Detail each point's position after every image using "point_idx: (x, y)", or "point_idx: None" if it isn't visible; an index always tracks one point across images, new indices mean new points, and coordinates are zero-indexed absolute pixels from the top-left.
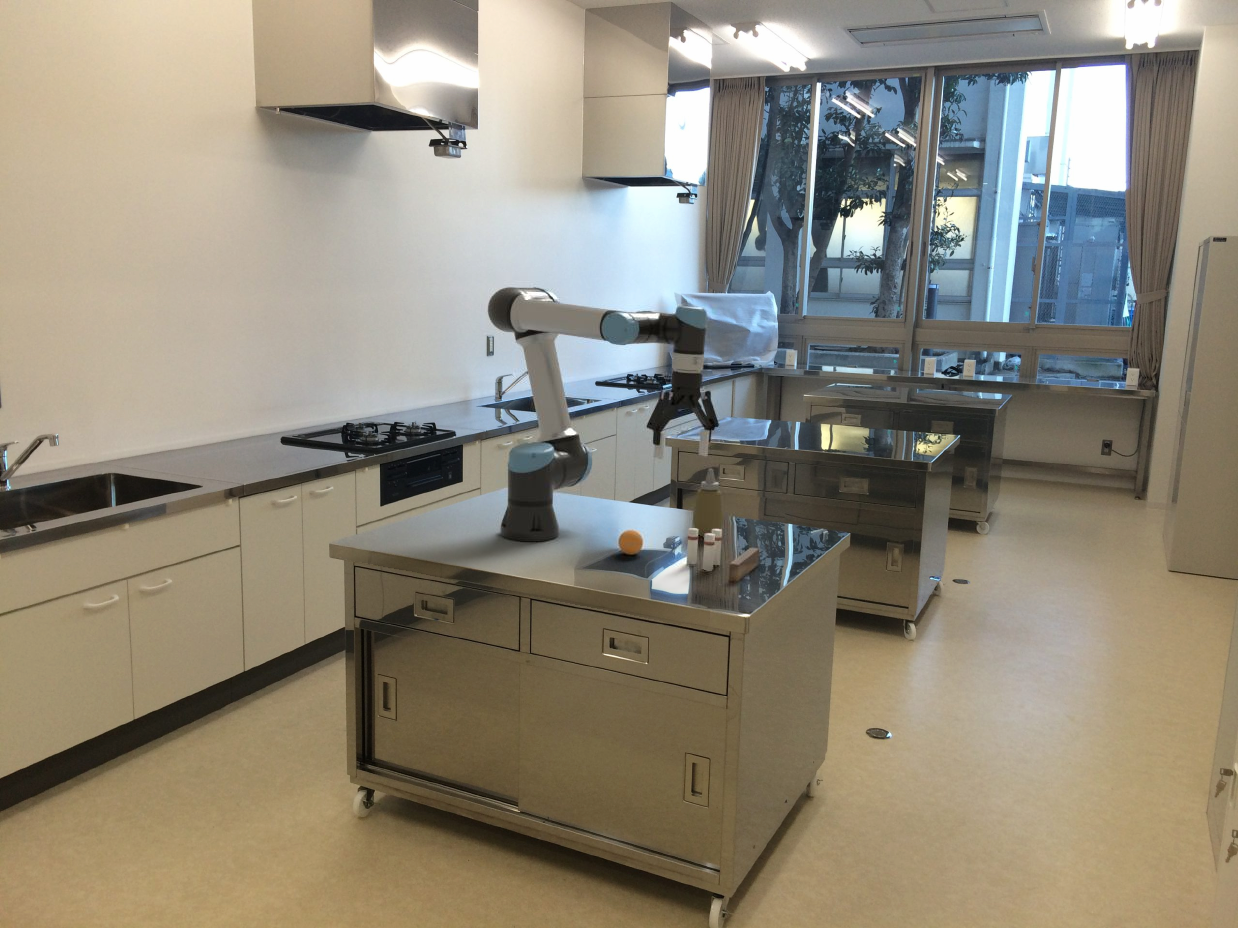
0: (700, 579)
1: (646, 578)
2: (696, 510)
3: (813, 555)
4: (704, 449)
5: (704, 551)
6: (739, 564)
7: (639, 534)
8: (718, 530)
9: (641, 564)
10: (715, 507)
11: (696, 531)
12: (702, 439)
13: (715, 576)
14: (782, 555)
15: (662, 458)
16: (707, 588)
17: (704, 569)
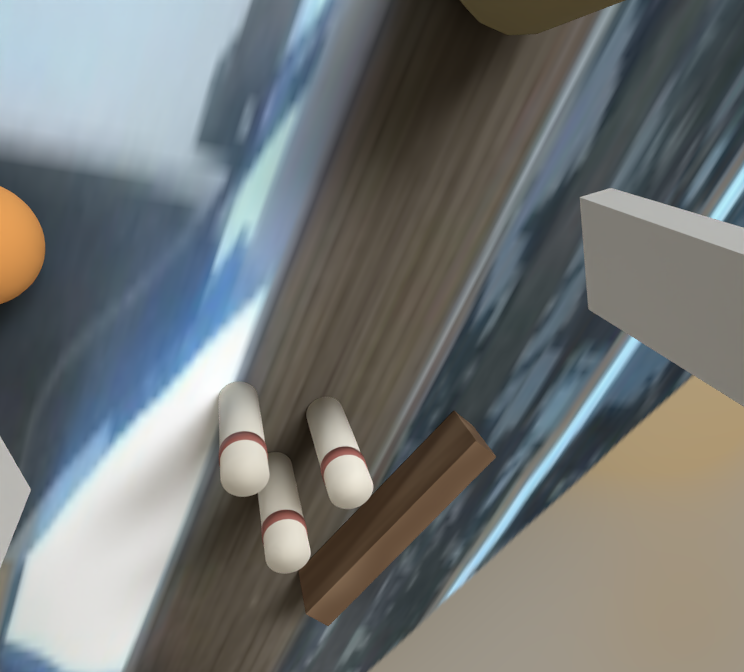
0: (208, 559)
1: None
2: None
3: None
4: (630, 315)
5: (260, 515)
6: (336, 615)
7: (7, 275)
8: (355, 496)
9: (21, 386)
10: (574, 15)
11: (253, 491)
12: (713, 303)
13: None
14: (615, 328)
15: (23, 494)
16: (199, 635)
17: None
